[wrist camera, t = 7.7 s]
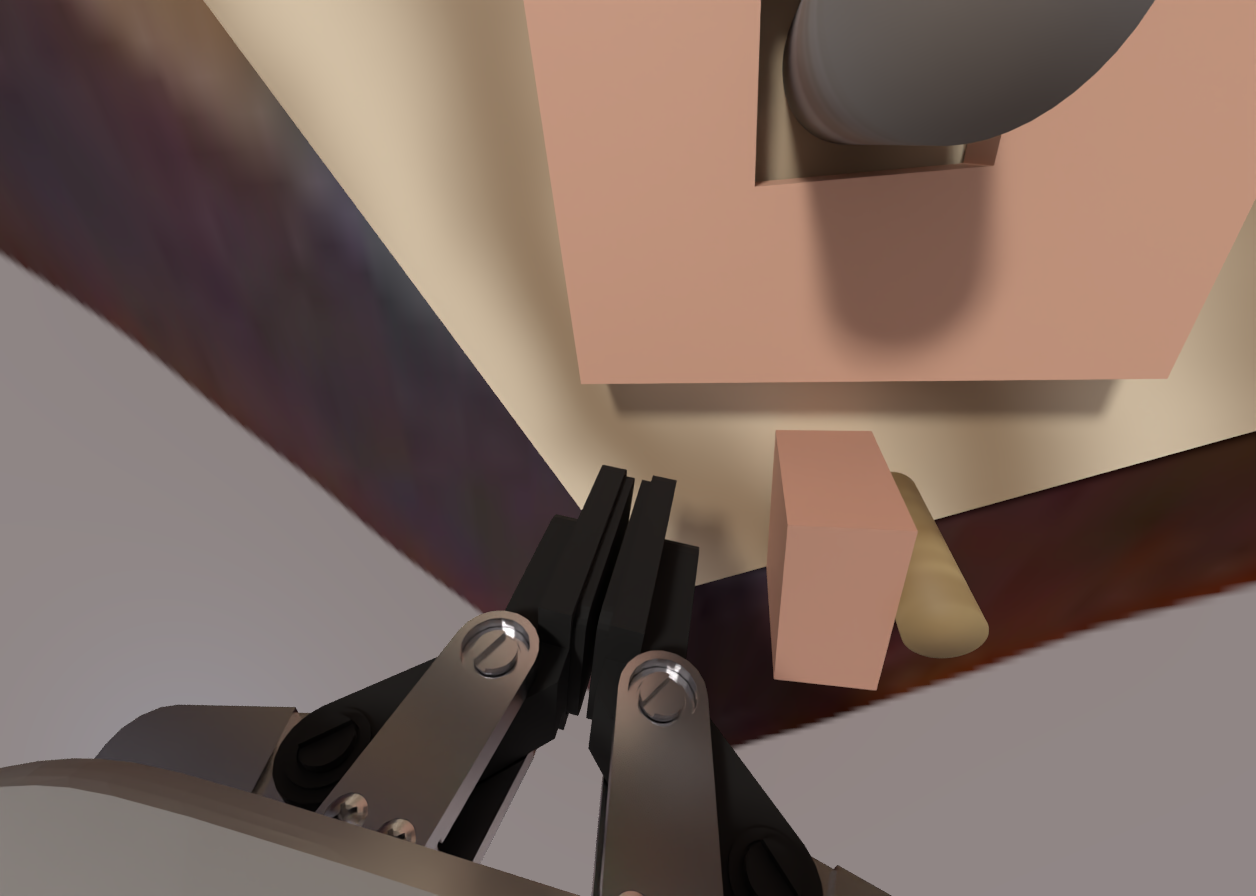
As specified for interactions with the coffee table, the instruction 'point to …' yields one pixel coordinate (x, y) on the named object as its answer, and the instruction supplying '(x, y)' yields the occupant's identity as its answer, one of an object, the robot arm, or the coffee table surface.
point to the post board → (785, 148)
